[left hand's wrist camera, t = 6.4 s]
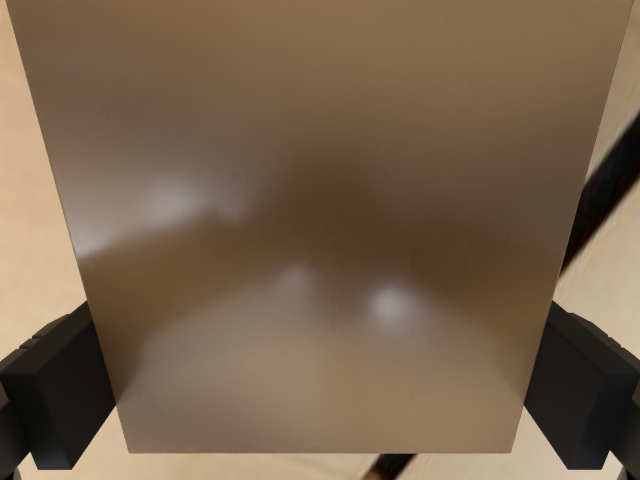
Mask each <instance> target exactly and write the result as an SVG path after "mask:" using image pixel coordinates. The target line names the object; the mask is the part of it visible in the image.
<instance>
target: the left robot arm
mask: <svg viewBox="0 0 640 480" xmlns="http://www.w3.org/2000/svg"><path fill="white" fill-rule="evenodd" d="M115 406H116V404H115V400H114V396H113V393H112V389H111V385H110V382H109V378H108V374H107V371H106V367H105V363H104V360H103V356H102V352H101V349H100V345H99V341H98V338H97V334H96V330H95V327H94V323H93V319H92V316H91V312H90V308H89V305H88V301H85V302H84V303H83V304H82V305H80V306H79V307H78V308H77V309H76V310H74V311H73V312H72V313H71V314H66V315H64V316H62V317H60V318H58V319H56V320H55V321H53V322H51V323H49V324H47V325H46V326H44V327H43V328H42V329H41V330H39V331H38V332H37V333H36V334H34V335H33V336H32V339H28V340H27V341H26V342H24V343H23V344H22V345H21V346H19V349H15V350H14V351H13V352H12V353H10V354H9V355H8V356H7V357H5V358H4V359H3V360H2V361H0V480H21V475H20V472H19V469H18V467H17V466H18V465H19V464H20V463H21V462H22V460H23V459H24V458H25V457H26V456H27V454H28V453H29V452H31V454H32V457H33V459H34V461H35V464H36V466H37V469H38V470H72V468H73V467H74V466H75V464H76V463H77V461H78V460H79V458H80V457H81V455H82V454H83V452H84V451H85V449H86V448H87V447H88V445H89V444H90V442H91V441H92V439H93V438H94V436H95V435H96V433H97V432H98V431H99V429H100V428H101V426H102V425H103V423H104V422H105V420H106V419H107V417H108V416H109V414H110V413H111V412H112V410H113V409H114V407H115ZM524 406H525V408H526V409H527V411H528V412H529V414H530V415H531V416H532V418H533V419H534V421H535V422H536V424H537V425H538V427H539V428H540V430H541V431H542V433H543V434H544V435H545V437H546V438H547V440H548V441H549V443H550V444H551V446H552V447H553V449H554V450H555V451H556V453H557V454H558V456H559V457H560V459H561V460H562V462H563V463H564V465H565V466H566V468H567V469H568V470H602V467H603V465H604V463H605V460H606V458H607V455H608V453H609V451H611V452H612V453H613V454H614V455H615V456H616V458H617V459H618V460H619V461H620V462H621V464H622V465H623V467H622V469H621V472H620V474H619V476H618V478H617V480H640V360H639V359H638V358H636V357H635V356H634V355H633V354H631V353H630V352H629V351H628V350H626V349H625V348H621V345H620V344H619V343H617V342H616V341H615V340H614V339H612V338H611V337H608V335H607V334H606V333H605V332H604V331H602V330H601V329H600V328H598V327H597V326H596V325H595V324H593V323H592V322H590V321H588V320H586V319H584V318H582V317H580V316H578V315H576V314H574V313H568V312H566V311H565V310H564V309H563V308H562V307H560V306H559V305H558V304H557V303H555V302H554V301H553V300H552V302H551V306H550V310H549V313H548V317H547V321H546V325H545V328H544V332H543V336H542V339H541V343H540V347H539V350H538V354H537V358H536V361H535V365H534V369H533V372H532V376H531V380H530V383H529V387H528V391H527V395H526V398H525V402H524Z"/></svg>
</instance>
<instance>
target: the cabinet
mask: <svg viewBox="0 0 640 480" xmlns="http://www.w3.org/2000/svg"><path fill="white" fill-rule="evenodd" d="M6 4H7V7H8V11H9V15H10V18H11V22H12V26H13V29H14V33H15V37H16V40H17V44H18V48H19V51H20V55H21V59H22V62H23V66H24V70H25V73H26V77H27V81H28V84H29V88H30V92H31V95H32V99H33V103H34V106H35V110H36V114H37V117H38V121H39V125H40V128H41V132H42V136H43V140H44V143H45V147H46V151H47V154H48V158H49V162H50V165H51V169H52V173H53V176H54V180H55V184H56V187H57V191H58V195H59V198H60V202H61V206H62V209H63V213H64V217H65V220H66V224H67V228H68V231H69V235H70V239H71V242H72V246H73V250H74V253H75V257H76V261H77V264H78V268H79V272H80V275H81V279H82V283H83V286H84V290H85V294H86V297H87V301H88V305H89V308H90V312H91V316H92V319H93V323H94V327H95V330H96V334H97V338H98V341H99V345H100V349H101V352H102V356H103V360H104V363H105V367H106V371H107V374H108V378H109V382H110V385H111V389H112V393H113V396H114V400H115V404H116V407H117V411H118V415H119V418H120V422H121V426H122V429H123V433H124V437H125V440H126V444H127V448H128V451H129V453H511V450H512V446H513V442H514V439H515V435H516V431H517V428H518V424H519V420H520V417H521V413H522V409H523V406H524V402H525V398H526V395H527V391H528V387H529V383H530V380H531V376H532V372H533V369H534V365H535V361H536V358H537V354H538V350H539V347H540V343H541V339H542V336H543V332H544V328H545V325H546V321H547V317H548V313H549V310H550V306H551V302H552V299H553V295H554V291H555V288H556V284H557V280H558V277H559V273H560V269H561V266H562V262H563V258H564V255H565V251H566V247H567V243H568V240H569V236H570V232H571V229H572V225H573V221H574V218H575V214H576V210H577V207H578V203H579V199H580V196H581V192H582V188H583V185H584V181H585V177H586V173H587V170H588V166H589V162H590V159H591V155H592V151H593V148H594V144H595V140H596V137H597V133H598V129H599V126H600V122H601V118H602V115H603V111H604V107H605V103H606V100H607V96H608V92H609V89H610V85H611V81H612V78H613V74H614V70H615V67H616V63H617V59H618V56H619V52H620V48H621V45H622V41H623V37H624V33H625V30H626V26H627V22H628V19H629V15H630V11H631V8H632V4H633V0H6Z"/></svg>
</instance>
